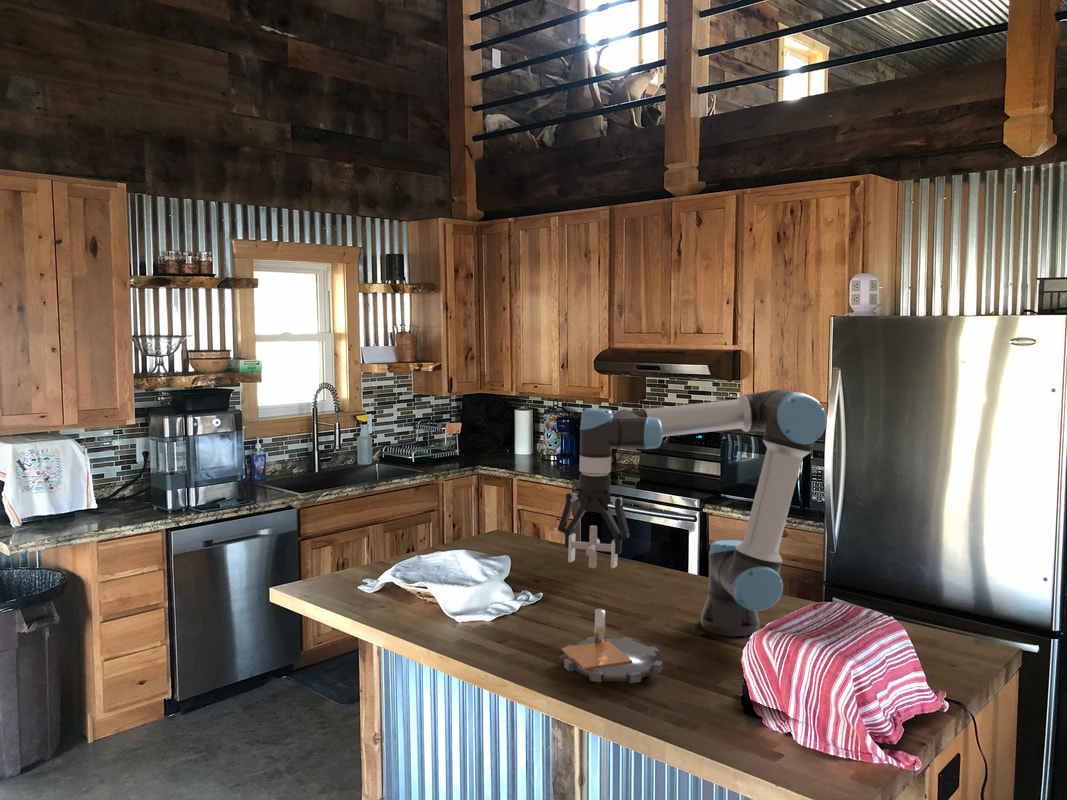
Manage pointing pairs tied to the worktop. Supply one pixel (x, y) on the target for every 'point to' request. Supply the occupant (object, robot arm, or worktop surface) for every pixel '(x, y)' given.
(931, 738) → the worktop surface
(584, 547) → the pipe connector
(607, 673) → the sprocket
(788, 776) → the worktop surface
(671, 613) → the worktop surface
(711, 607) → the robot arm
